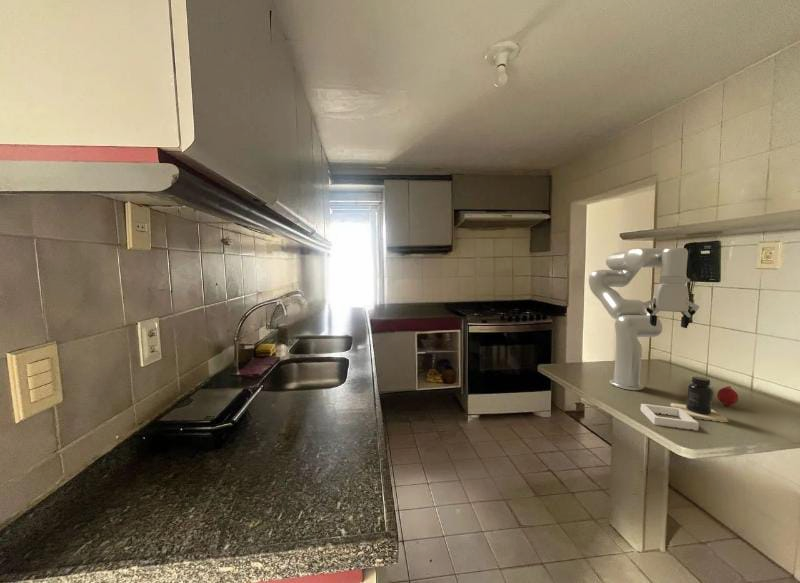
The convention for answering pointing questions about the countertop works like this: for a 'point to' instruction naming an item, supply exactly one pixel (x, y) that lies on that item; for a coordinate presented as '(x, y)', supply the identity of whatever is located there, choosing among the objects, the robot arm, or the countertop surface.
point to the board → (712, 416)
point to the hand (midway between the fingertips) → (668, 326)
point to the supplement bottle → (699, 396)
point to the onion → (727, 396)
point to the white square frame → (685, 423)
